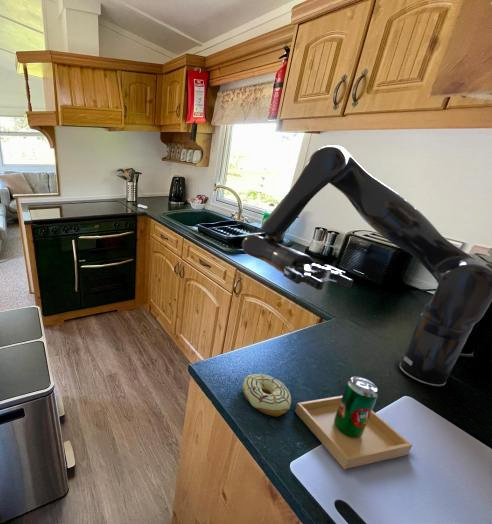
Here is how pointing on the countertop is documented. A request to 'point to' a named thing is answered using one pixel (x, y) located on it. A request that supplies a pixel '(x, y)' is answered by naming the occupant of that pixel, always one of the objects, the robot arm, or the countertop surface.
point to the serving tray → (347, 448)
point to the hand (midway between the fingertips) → (336, 285)
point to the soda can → (355, 406)
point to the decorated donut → (267, 394)
